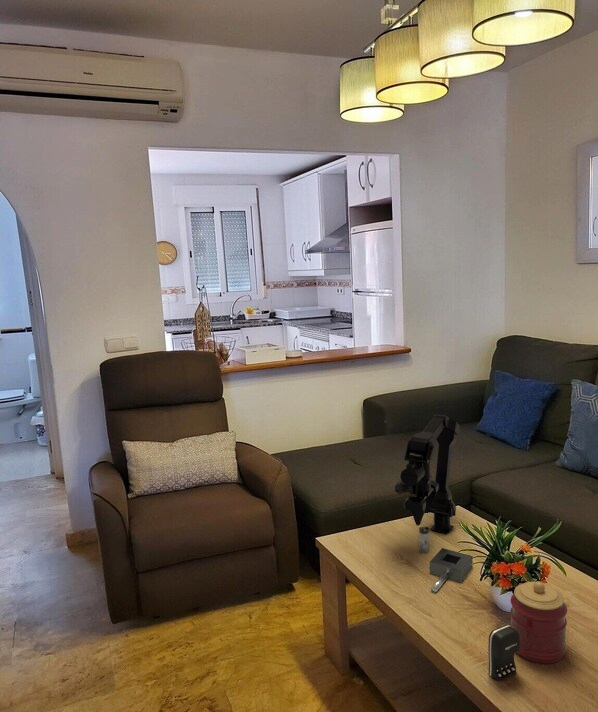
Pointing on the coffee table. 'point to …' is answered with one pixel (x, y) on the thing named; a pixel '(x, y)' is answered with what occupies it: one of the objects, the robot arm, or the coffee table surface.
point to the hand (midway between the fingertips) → (422, 519)
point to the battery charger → (503, 651)
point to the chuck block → (450, 567)
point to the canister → (539, 622)
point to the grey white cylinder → (424, 540)
